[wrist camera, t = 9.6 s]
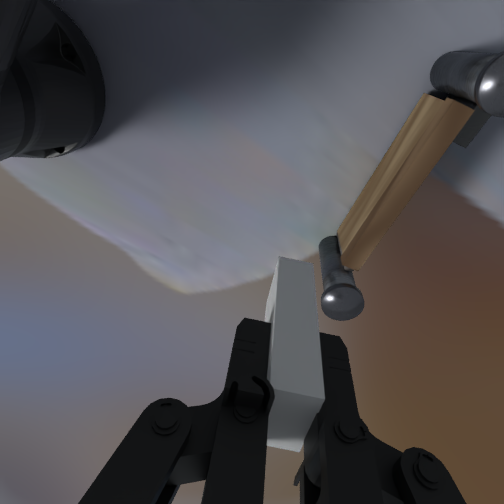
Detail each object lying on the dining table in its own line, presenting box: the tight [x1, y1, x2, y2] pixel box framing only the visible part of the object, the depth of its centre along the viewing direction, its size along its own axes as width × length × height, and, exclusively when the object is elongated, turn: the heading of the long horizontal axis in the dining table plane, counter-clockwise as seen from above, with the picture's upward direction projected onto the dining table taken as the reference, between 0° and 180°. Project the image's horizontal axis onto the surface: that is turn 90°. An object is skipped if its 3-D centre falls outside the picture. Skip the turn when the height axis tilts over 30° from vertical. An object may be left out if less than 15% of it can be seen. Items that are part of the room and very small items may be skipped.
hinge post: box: [319, 236, 364, 321], centre depth 37 cm, size 4×4×11 cm
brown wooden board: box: [337, 93, 475, 272], centre depth 33 cm, size 2×17×7 cm, turn 158°
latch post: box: [430, 52, 504, 148], centre depth 27 cm, size 5×7×11 cm
